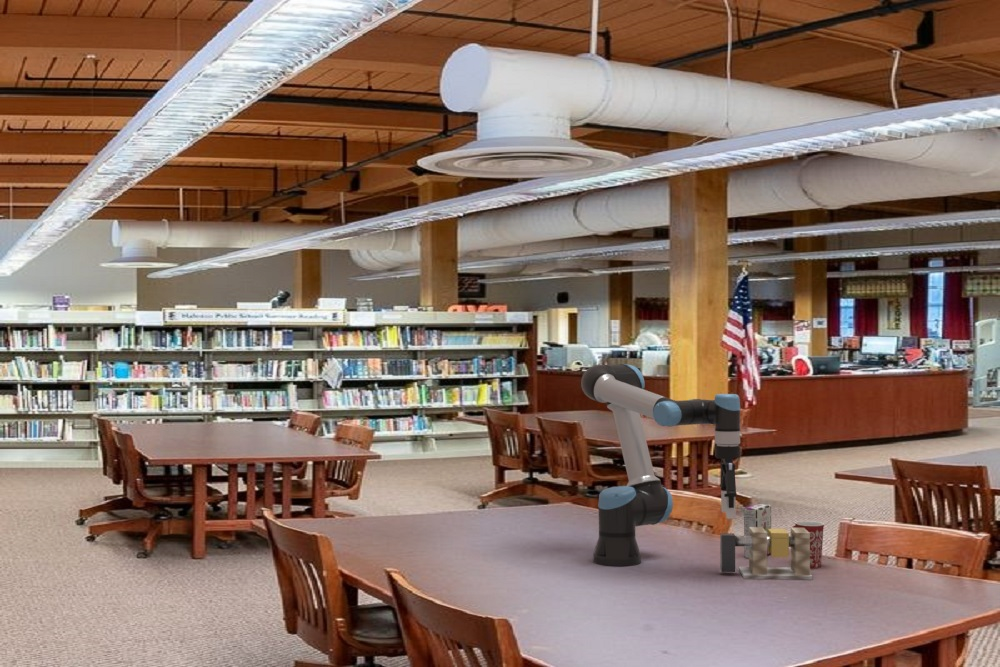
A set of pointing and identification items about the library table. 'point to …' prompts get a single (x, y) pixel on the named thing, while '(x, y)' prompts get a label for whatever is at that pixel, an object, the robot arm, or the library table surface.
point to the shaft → (730, 541)
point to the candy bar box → (757, 520)
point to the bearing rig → (761, 571)
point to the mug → (813, 540)
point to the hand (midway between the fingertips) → (728, 515)
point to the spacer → (779, 543)
